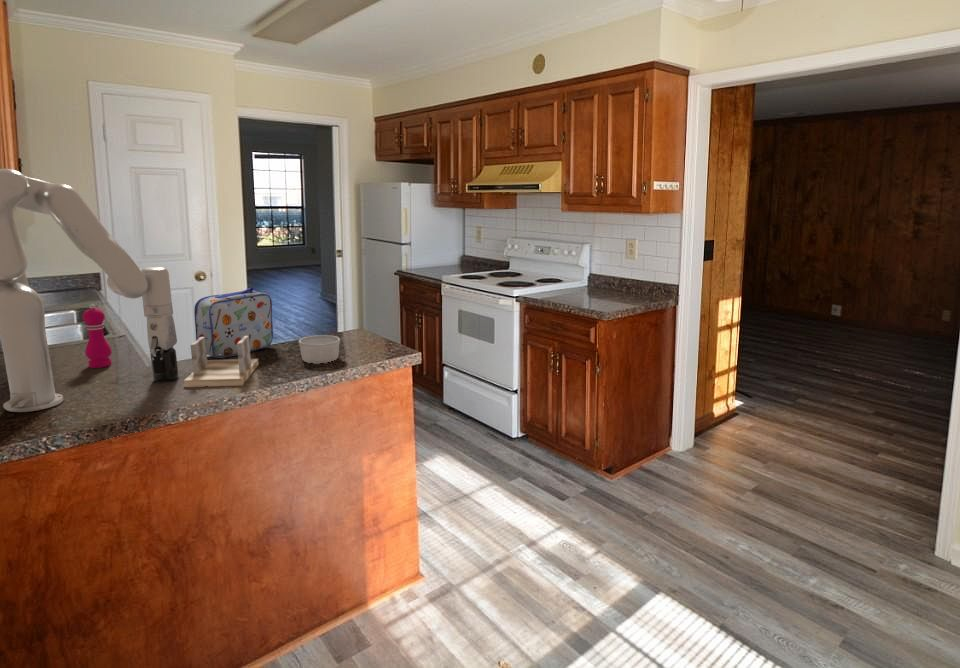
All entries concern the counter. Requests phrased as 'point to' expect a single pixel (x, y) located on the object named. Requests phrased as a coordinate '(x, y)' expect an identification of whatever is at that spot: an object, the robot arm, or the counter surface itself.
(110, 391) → the counter surface
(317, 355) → the ramekin
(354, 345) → the counter surface
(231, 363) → the wooden stand
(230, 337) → the lunch box
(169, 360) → the supplement bottle
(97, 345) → the pepper mill
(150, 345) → the robot arm
